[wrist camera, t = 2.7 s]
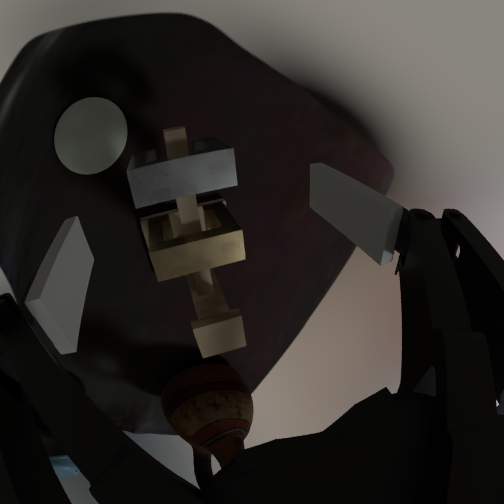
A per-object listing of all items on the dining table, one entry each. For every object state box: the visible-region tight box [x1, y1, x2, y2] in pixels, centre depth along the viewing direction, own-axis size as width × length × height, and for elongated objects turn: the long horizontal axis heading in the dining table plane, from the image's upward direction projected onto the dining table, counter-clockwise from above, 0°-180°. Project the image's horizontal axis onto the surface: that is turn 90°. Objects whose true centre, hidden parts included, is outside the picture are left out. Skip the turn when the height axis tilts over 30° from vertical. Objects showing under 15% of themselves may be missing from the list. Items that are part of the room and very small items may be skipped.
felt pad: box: [54, 97, 127, 174], centre depth 27 cm, size 10×10×1 cm
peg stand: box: [140, 126, 246, 358], centre depth 29 cm, size 12×22×20 cm, turn 4°
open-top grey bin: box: [126, 136, 237, 209], centre depth 22 cm, size 8×3×7 cm, turn 94°
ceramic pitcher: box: [161, 363, 253, 490], centre depth 47 cm, size 20×20×30 cm
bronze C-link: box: [148, 201, 245, 282], centre depth 26 cm, size 8×3×7 cm, turn 94°
